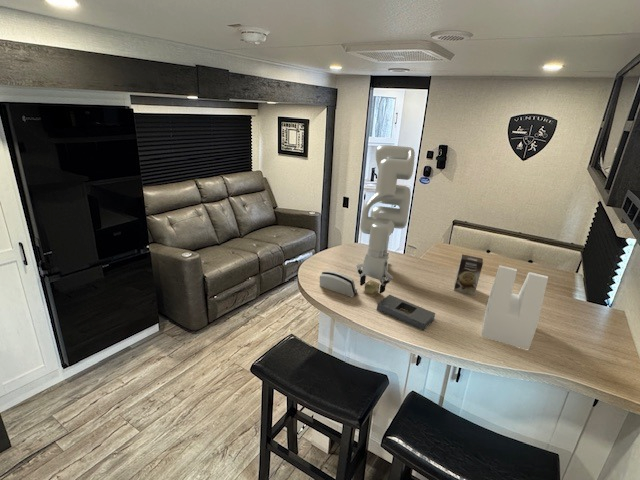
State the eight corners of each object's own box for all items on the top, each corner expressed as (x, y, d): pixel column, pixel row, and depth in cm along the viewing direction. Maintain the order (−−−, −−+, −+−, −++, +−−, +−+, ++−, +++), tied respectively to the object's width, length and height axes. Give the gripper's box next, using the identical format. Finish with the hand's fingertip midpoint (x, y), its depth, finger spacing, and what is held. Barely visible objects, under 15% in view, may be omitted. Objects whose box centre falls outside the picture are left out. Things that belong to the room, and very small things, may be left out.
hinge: (357, 292, 153) (356, 276, 147) (353, 299, 150) (351, 283, 144) (324, 281, 161) (322, 265, 155) (319, 288, 158) (316, 272, 152)
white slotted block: (484, 312, 145) (500, 257, 136) (526, 324, 139) (545, 267, 130) (481, 336, 129) (498, 276, 120) (528, 351, 123) (550, 288, 114)
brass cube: (369, 288, 157) (370, 279, 156) (378, 292, 155) (379, 283, 153) (364, 292, 154) (365, 283, 152) (373, 296, 152) (374, 286, 150)
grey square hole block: (388, 300, 149) (389, 294, 147) (433, 319, 137) (435, 313, 136) (376, 310, 141) (377, 303, 140) (423, 330, 130) (424, 324, 129)
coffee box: (453, 290, 161) (461, 258, 155) (454, 284, 166) (461, 253, 160) (474, 295, 158) (483, 263, 152) (474, 289, 163) (482, 257, 157)
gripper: (399, 255, 145) (393, 292, 151) (363, 244, 155) (359, 279, 161) (391, 260, 139) (385, 298, 145) (354, 248, 149) (350, 284, 155)
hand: (371, 288), depth 153 cm, fingers open, 9 cm apart
